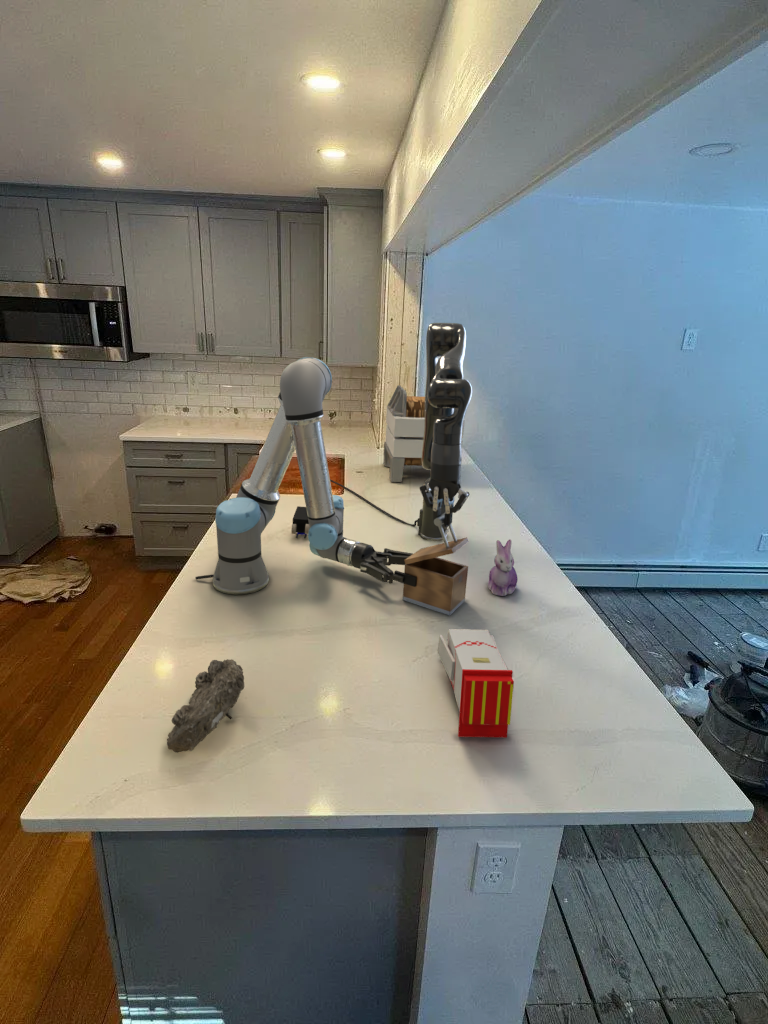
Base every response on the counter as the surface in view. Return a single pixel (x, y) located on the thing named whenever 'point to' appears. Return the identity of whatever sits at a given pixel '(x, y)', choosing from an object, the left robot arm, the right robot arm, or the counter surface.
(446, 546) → the lid
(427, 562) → the chest
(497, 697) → the toy
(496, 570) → the figurine
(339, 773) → the counter surface
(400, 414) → the transformer
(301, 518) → the figurine character
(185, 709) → the fossil
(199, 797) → the counter surface
